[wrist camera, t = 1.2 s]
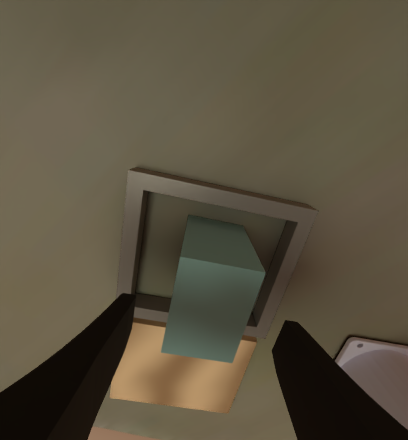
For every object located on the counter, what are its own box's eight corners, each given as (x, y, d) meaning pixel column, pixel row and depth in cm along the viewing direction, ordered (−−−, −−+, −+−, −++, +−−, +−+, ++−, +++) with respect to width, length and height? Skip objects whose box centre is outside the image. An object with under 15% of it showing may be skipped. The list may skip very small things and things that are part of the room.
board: (255, 336, 19) (256, 342, 18) (227, 406, 22) (228, 413, 22) (120, 314, 18) (117, 320, 17) (112, 390, 21) (109, 397, 21)
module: (242, 225, 15) (265, 272, 10) (222, 291, 17) (232, 363, 12) (188, 214, 15) (180, 256, 9) (174, 283, 17) (160, 352, 11)
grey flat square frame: (307, 204, 15) (318, 210, 13) (260, 323, 18) (265, 338, 17) (135, 167, 14) (128, 169, 12) (121, 300, 17) (114, 314, 16)
